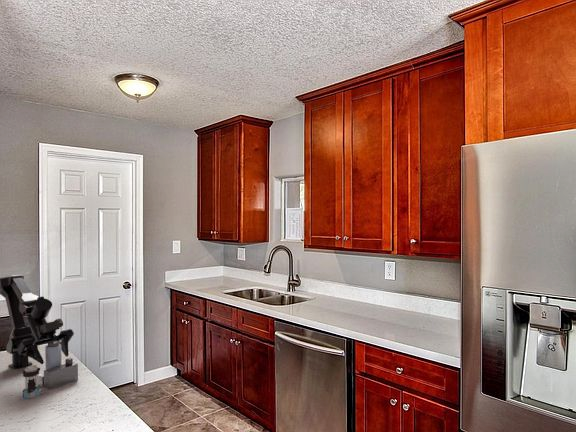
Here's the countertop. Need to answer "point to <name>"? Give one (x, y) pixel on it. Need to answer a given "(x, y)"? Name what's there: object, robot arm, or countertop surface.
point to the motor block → (59, 375)
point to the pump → (53, 354)
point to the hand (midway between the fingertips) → (55, 359)
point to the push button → (31, 382)
